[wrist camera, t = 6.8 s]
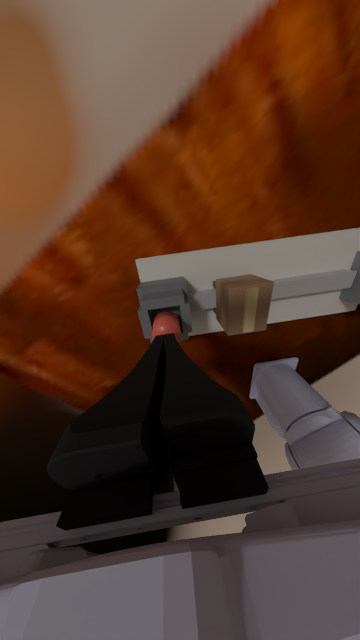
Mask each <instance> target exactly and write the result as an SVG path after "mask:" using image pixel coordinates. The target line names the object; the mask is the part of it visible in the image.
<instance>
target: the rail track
mask: <svg viewBox="0 0 360 640" xmlns="http://www.w3.org/2000/svg"><path fill="white" fill-rule="evenodd" d="M135 261H136V265H137V269H138V273H139V277H140V281H141V283H140V284H139V286H138V288H137V289H136V290H137V294H138V297H139V301H140V307H139V309H138V315H139V319H140V322H141V326H142V329H143V333H144V336H145V339H146V338H149V339H150V341H151V343H152V341H153V340H152V329H153V323H154V318H155V316H156V315H157V314H158V313H159V312H161V311H171V312H173V313H175V314H176V315H177V317H178V319H179V324H180V330H181V339H180V341H182V340H188V339H189V337H188V336H192V335H198V334H205V333H211V332H218V331H224V329H223V328H222V327H221V325H220V324H219V322H218V321H217V319H216V314H215V313H214V312H213V308H216V289H215V288H213V281H216V279H221V278H227V277H234V276H241V275H248V274H252V275H255V276H258V277H261V278H264V279H267V280H270V281H273V282H274V286H273V291H272V297H271V303H270V309H269V314H268V320H267V324H270V323H276V322H283V321H289V320H295V319H302V318H308V317H315V316H321V315H328V314H334V313H341V312H347V311H354V310H355V309H356V307H357V305H358V304H360V228H353V229H346V230H339V231H332V232H325V233H318V234H311V235H304V236H296V237H289V238H282V239H275V240H268V241H261V242H254V243H247V244H240V245H233V246H225V247H218V248H211V249H204V250H197V251H190V252H183V253H176V254H169V255H162V256H154V257H147V258H140V259H136V260H135Z"/></svg>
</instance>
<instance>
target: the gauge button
mask: <svg viewBox="0 0 360 640" xmlns="http://www.w3.org/2000/svg"><path fill="white" fill-rule="evenodd" d="M169 333H174V334H175V338H176V340H177V342H179V341H180V339H181V330H180V324H179V319H178V317H177V315H176V314H175V313H173V312H171V311H161V312H159V313H158V314H157V315H156V316H155V318H154V323H153V329H152V340H154V338H155V336H156V335H163V334H169Z"/></svg>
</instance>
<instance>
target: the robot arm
mask: <svg viewBox="0 0 360 640" xmlns="http://www.w3.org/2000/svg"><path fill="white" fill-rule="evenodd" d="M297 363H298V358H297V357H293V358H287V359H280V360H274V361H268V362H262V363H256V364H255V365H254V368H253V375H252V382H251V389H250V395H249V397H250V398H251V399H253V398H255V399H256V400H257V402H258V404H259V405H260V407H261V409H262V411H263V412H264V414H265V416H266V417H267V419H268V421H269V423H270V424H271V426H272V427H273V429H274V430H275V431H276V432H277V433H278V434H279V435H280V436H281V437H283V438H284V439H286V441H287V443H286V444H285V451H286V457H287V460H288V462H289V464H290V466H291V468H292V470H290V471H285V472H279V473H274V474H268V475H263V473H262V470H261V468H260V466H259V463H258V461H257V459H256V458H257V453H256V451H255V448H254V446H253V444H252V441H253V436H254V431H255V424H254V422H253V420H252V418H251V416H250V414H249V413H248V411H247V409H246V408H245V406H244V405H243V403H242V402H241V401H240V399H239V398H238V397H237V395H235V394H234V393H232V392H231V391H229V390H227V389H226V388H224V387H223V386H221V385H220V384H218V383H217V382H215V381H214V380H213V379H211V378H210V377H209V376H208V375H206V374H205V373H204V372H203V371H201V370H200V369H199V368H198V367H197V366H196V365H195V364H194V363H193V362H192V361H191V360H190V359H189V357H188V356H187V355H186V354H185V352H184V351H183V350H182V348H181V347H180V345H179V344H178V342H177V340H176V338H175V334H174V333H169V334H163V335H156V336H155V338H154V340H153V341H152V343H151V345H150V346H149V348H148V350H147V351H146V353H145V354H144V356H143V357H142V358H141V360H140V361H139V362H138V364H137V365H136V366H135V367H134V369H133V370H132V371H131V372H130V373H129V374H128V375H127V376H126V377H125V378H124V379H123V380H122V381H121V382H120V383H119V384H118V385H117V386H116V387H115V388H114V389H113V390H112V391H110V392H109V393H108V394H107V395H106V396H105V397H103V398H102V399H101V400H100V401H98V402H97V403H96V404H95V405H93V406H92V407H91V408H89V409H88V410H86V411H85V412H84V413H82V414H81V415H80V416H78V417H77V418H75V419H74V420H73V421H71V422H70V424H69V426H68V428H67V429H66V431H65V433H64V435H63V437H62V438H61V440H60V442H59V444H58V446H57V448H56V450H55V452H54V453H53V455H52V457H51V459H50V461H49V463H48V465H47V470H48V474H49V476H50V477H52V479H54V480H55V481H56V482H58V483H59V484H61V485H62V486H63V487H65V488H66V489H67V490H69V494H68V496H67V499H66V502H65V504H64V506H63V509H62V512H56V513H50V514H45V515H39V516H34V517H28V518H23V519H18V520H12V521H6V522H0V640H360V418H359V417H358V416H357V415H356V414H354V413H350V412H349V413H348V412H347V411H343V412H341V413H339V412H338V411H337V410H335V409H334V408H333V407H332V406H331V405H330V404H329V403H328V402H327V401H326V400H325V399H324V398H323V397H322V396H321V395H320V394H319V393H317V392H316V391H315V390H314V389H313V388H312V387H311V386H310V385H309V384H308V383H307V382H306V381H305V380H304V379H303V378H302V377H301V376H300V375H299V374H298V373H297V372H296V371H295V369H296V366H297ZM173 476H174V478H175V481H176V484H177V487H178V489H179V491H174V483H173ZM254 511H255V512H254ZM248 512H253V513H250V514H247V515H246V517H245V522H246V525H247V526H246V527H244V528H243V530H242V533H234V534H225V535H216V536H207V537H200V538H191V539H184V540H177V541H171V542H165V543H158V544H152V545H146V546H141V547H136V548H131V549H125V550H120V551H116V552H111V553H107V554H102V555H99V554H93V553H90V552H87V551H85V550H84V549H83V548H82V547H67V548H59V547H64V546H69V545H75V544H80V543H86V542H91V541H96V540H102V539H108V538H113V537H118V536H124V535H129V534H135V533H140V532H145V531H151V530H156V529H161V528H167V527H172V526H178V525H183V524H188V523H194V522H199V521H205V520H210V519H216V518H221V517H227V516H232V515H237V514H243V513H248Z"/></svg>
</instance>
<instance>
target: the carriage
mask: <svg viewBox="0 0 360 640" xmlns="http://www.w3.org/2000/svg"><path fill="white" fill-rule="evenodd" d="M273 286H274V282H273V281H270V280H267V279H264V278H261V277H258V276H255V275H252V274H248V275H241V276H234V277H227V278H221V279H216V281H213V288H215V289H216V308H213V312H214V313H215V314H216V319H217V321H218V322H219V324H220V325H221V327H222V328H223V329H224V331H225V332H226V334H227V335H228V336H230V335H237V334H243V333H250V332H256V331H263V330H266V326H267V320H268V314H269V309H270V303H271V297H272V291H273Z"/></svg>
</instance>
